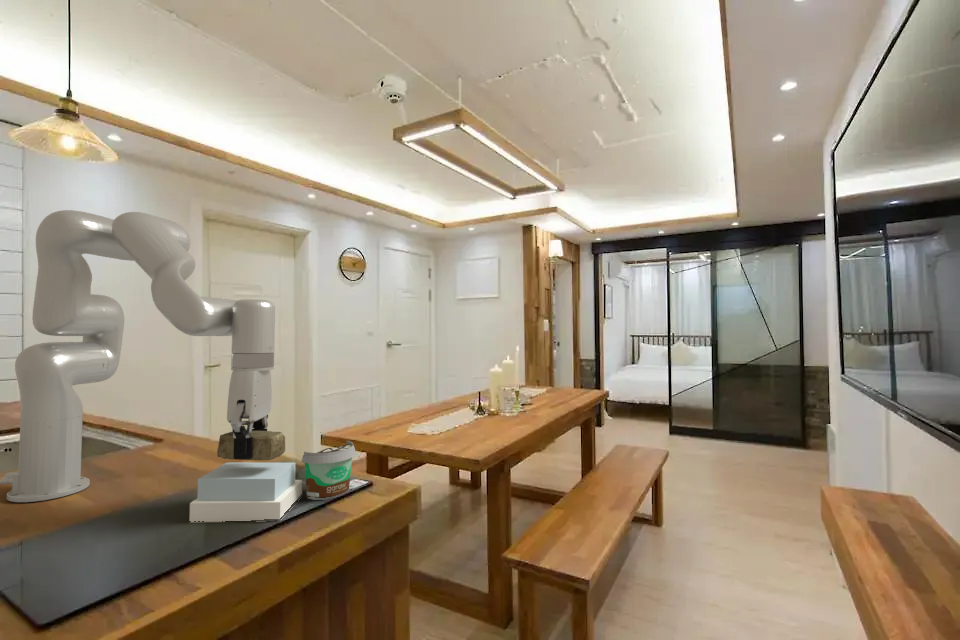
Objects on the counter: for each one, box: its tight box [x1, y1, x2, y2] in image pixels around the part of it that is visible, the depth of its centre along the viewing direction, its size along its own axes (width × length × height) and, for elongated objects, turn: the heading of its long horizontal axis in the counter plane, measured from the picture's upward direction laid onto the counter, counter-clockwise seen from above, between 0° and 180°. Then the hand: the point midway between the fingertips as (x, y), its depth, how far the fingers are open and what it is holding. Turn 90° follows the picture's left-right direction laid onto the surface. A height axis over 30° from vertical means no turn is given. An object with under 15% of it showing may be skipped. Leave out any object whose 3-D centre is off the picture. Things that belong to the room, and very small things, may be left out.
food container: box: [301, 440, 356, 498], centre depth 94 cm, size 12×6×10 cm, turn 148°
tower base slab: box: [189, 479, 303, 523], centre depth 87 cm, size 16×12×4 cm
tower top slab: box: [196, 461, 296, 501], centre depth 87 cm, size 14×10×4 cm
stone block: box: [216, 430, 286, 461], centre depth 87 cm, size 6×12×5 cm, turn 85°
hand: (250, 452), depth 87 cm, fingers closed on stone block, 6 cm apart
